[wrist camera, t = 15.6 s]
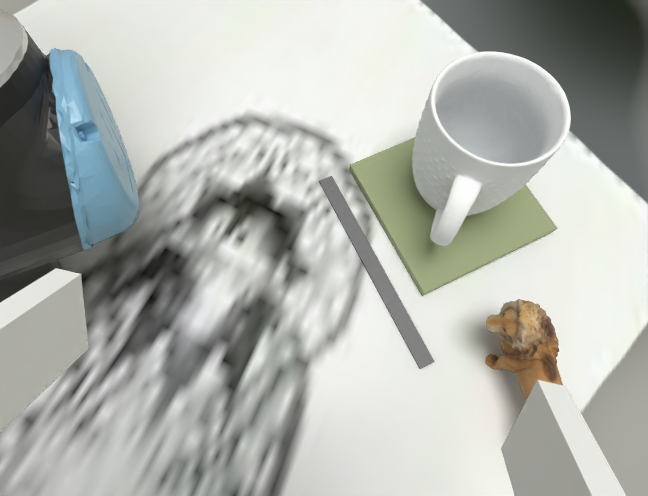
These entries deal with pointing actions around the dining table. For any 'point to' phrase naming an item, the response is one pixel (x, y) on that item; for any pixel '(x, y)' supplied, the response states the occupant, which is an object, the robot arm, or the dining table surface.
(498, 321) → the lion figurine
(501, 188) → the mug
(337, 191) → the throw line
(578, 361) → the dining table surface
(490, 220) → the mat
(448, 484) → the dining table surface
